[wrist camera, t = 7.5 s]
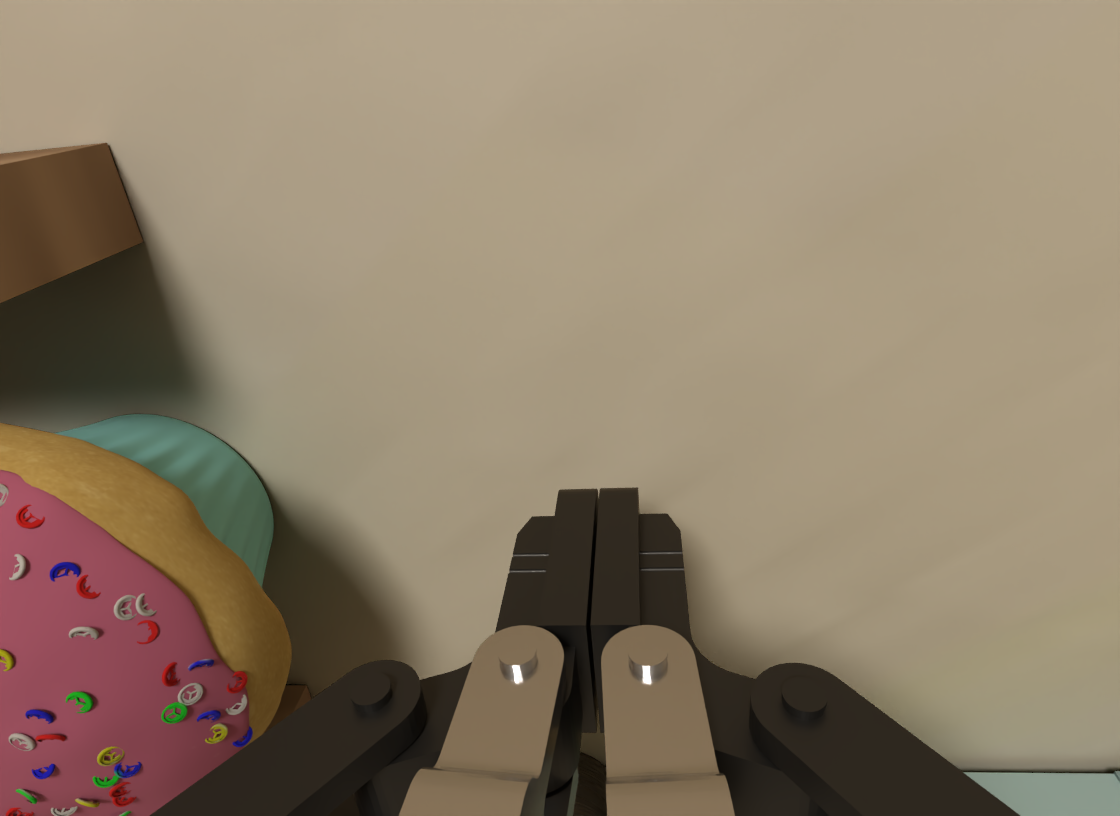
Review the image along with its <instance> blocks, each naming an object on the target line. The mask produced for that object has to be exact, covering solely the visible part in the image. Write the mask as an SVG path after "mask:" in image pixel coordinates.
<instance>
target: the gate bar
mask: <svg viewBox="0 0 1120 816" xmlns="http://www.w3.org/2000/svg"><path fill="white" fill-rule="evenodd" d="M963 773H965V774H966V775H967V776H969V777H970V778H971V779H973V780H974V781H975V782H977V783H978V784H979V785H981V786H982V787H983V788H985V789H986V790H987V791H989V792H990V793H991V794H993V795H994V796H995V797H996V798H998V799H999V800H1000V801H1002V802H1003V803H1004V804H1006V805H1007V806H1008V807H1010V808H1011V809H1012V810H1014V811H1015V812H1016V813H1018V814H1019V815H1020V816H1120V771H1115V772H1114V774H1094V773H986V772H963Z"/></svg>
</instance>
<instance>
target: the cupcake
mask: <svg viewBox="0 0 1120 816" xmlns="http://www.w3.org/2000/svg"><path fill="white" fill-rule="evenodd" d="M273 531H274V520H273V513H272V508H271V504H270V501H269V498H268V495H267V493H266V491H265V489H264V487H263V485H262V483H261V482H260V480H259V478H258V477H257V475H256V474H255V473H254V471H253V470H252V469H251V467H250V466H249V465H248V464H247V463H246V462H245V461H244V460H243V459H242V458H241V456H240V455H238V454H237V453H236V452H235V451H234V450H233V449H232V448H230V447H229V446H228V445H227V444H225V443H224V442H223V441H221V440H220V439H218V438H217V437H215V436H213V435H212V434H210V433H208V432H206V431H205V430H203V429H201V428H198V427H196V426H194V425H192V424H189V423H186V422H184V421H181V420H178V419H174V418H170V417H165V416H160V415H152V414H129V415H122V416H116V417H113V418H109V419H106V420H103V421H100V422H97V423H94V424H90V425H87V426H83V427H79V428H75V429H71V430H67V431H63V432H58V433H49V432H45V431H40V430H35V429H30V428H25V427H20V426H15V425H10V424H4V423H0V816H150V815H151V814H152V813H154V812H155V811H156V810H158V809H159V808H161V807H162V806H163V805H165V804H166V803H168V802H169V801H170V800H172V799H173V798H175V797H176V796H177V795H179V794H180V793H182V792H183V791H184V790H186V789H187V788H189V787H190V786H191V785H193V784H194V783H196V782H197V781H198V780H200V779H201V778H202V777H204V776H205V775H207V774H208V773H209V772H211V771H212V770H214V769H215V768H216V767H218V766H219V765H221V764H222V763H223V762H225V761H226V760H228V759H229V758H230V757H232V756H233V755H235V754H236V753H237V752H239V751H240V750H241V749H243V748H244V747H246V746H247V745H248V744H250V743H251V742H253V741H254V740H255V739H257V738H258V737H260V736H261V735H262V734H263V733H264V731H265V730H266V728H267V727H268V726H269V724H270V723H271V721H272V719H273V717H274V716H275V714H276V711H277V709H278V707H279V704H280V701H281V697H282V694H283V691H284V688H285V685H286V682H287V679H288V675H289V670H290V665H291V657H292V648H291V641H290V637H289V633H288V631H287V628H286V625H285V623H284V620H283V617H282V615H281V613H280V612H279V610H278V609H277V607H276V606H275V605H274V603H273V602H272V601H271V600H270V599H269V597H268V596H267V595H266V594H265V592H264V591H263V589H262V584H263V579H264V574H265V569H266V564H267V560H268V555H269V551H270V547H271V543H272V539H273Z"/></svg>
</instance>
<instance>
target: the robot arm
mask: <svg viewBox="0 0 1120 816" xmlns="http://www.w3.org/2000/svg"><path fill="white" fill-rule="evenodd" d="M509 570H510V573H509V574H508V578H507V582H506V587H505V591H504V596H503V600H502V605H501V609H500V613H499V618H498V622H497V627H496V631H495V633H494V634H493V635H491V636H490V637H488V638H487V639H486V640H485V641H484V642H483V643H482V644H481V645H480V646H479V648H478V649H477V651H476V653H475V655H474V658H473V661H472V662H471V663H469V664H468V665H466V666H464V667H462V668H460V669H457V670H454V671H451V672H448V673H444V674H441V675H437V676H433V677H429V678H426V679H422V680H419V677H418V675H417V673H416V672H415V671H414V670H413V669H412V668H411V667H410V666H408V665H407V664H404V663H402V662H399V661H394V660H381V661H375V662H370V663H367V664H364V665H362V666H360V667H358V668H355V669H354V670H352V671H351V672H349V673H347V674H346V675H345V676H343V677H342V678H340V679H339V680H338V681H336V682H335V683H333V684H332V685H331V686H329V687H328V688H326V689H325V690H324V691H322V692H321V693H319V694H318V695H317V696H315V697H314V698H313V699H311V700H310V701H308V702H307V703H306V704H304V705H303V706H301V707H300V708H299V709H297V710H296V711H294V712H293V713H292V714H290V715H289V716H287V717H286V718H285V719H283V720H282V721H280V722H279V723H278V724H276V725H275V726H274V727H272V728H271V729H269V730H268V731H267V732H265V733H264V734H262V735H261V736H260V737H258V738H257V739H255V740H254V741H253V742H251V743H250V744H248V745H247V746H246V747H244V748H243V749H241V750H240V751H239V752H237V753H236V754H235V755H233V756H232V757H230V758H229V759H228V760H226V761H225V762H223V763H222V764H221V765H219V766H218V767H216V768H215V769H214V770H212V771H211V772H209V773H208V774H207V775H205V776H204V777H202V778H201V779H200V780H198V781H197V782H196V783H194V784H193V785H191V786H190V787H189V788H187V789H186V790H184V791H183V792H182V793H180V794H179V795H177V796H176V797H175V798H173V799H172V800H170V801H169V802H168V803H166V804H165V805H163V806H162V807H161V808H159V809H158V810H156V811H155V812H154V813H152V814H151V815H150V816H573V812H574V805H575V799H576V792H577V785H578V767H577V766H578V763H579V758H580V746H581V733H596V732H597V712H598V710H599V721H600V731H601V733H605V751H606V772H607V779H606V801H607V816H1020V815H1019V814H1018V813H1016V812H1015V811H1014V810H1012V809H1011V808H1010V807H1008V806H1007V805H1006V804H1004V803H1003V802H1002V801H1000V800H999V799H998V798H996V797H995V796H994V795H993V794H991V793H990V792H989V791H987V790H986V789H985V788H983V787H982V786H981V785H979V784H978V783H977V782H975V781H974V780H973V779H971V778H970V777H969V776H967V775H966V774H965V773H963V772H962V771H961V770H959V769H958V768H957V767H955V766H954V765H953V764H951V763H950V762H949V761H947V760H946V759H945V758H943V757H942V756H941V755H939V754H938V753H937V752H935V751H934V750H933V749H931V748H930V747H929V746H927V745H926V744H925V743H923V742H922V741H921V740H919V739H918V738H917V737H915V736H914V735H913V734H911V733H910V732H909V731H907V730H906V729H905V728H903V727H902V726H901V725H899V724H898V723H897V722H895V721H894V720H893V719H891V718H890V717H889V716H887V715H886V714H885V713H883V712H882V711H881V710H879V709H878V708H877V707H875V706H874V705H873V704H871V703H870V702H869V701H867V700H866V699H865V698H864V697H862V696H861V695H860V694H858V693H857V692H856V691H854V690H853V689H852V688H850V687H849V686H848V685H846V684H845V683H844V682H842V681H841V680H840V679H838V678H837V677H835V676H834V675H832V674H831V673H829V672H827V671H825V670H823V669H821V668H818V667H815V666H812V665H807V664H801V663H785V664H779V665H776V666H773V667H770V668H769V669H767V670H765V671H764V672H762V673H761V674H760V675H759V676H758V677H757V679H753V678H749V677H746V676H742V675H739V674H735V673H732V672H729V671H726V670H724V669H722V668H720V667H718V666H716V665H714V664H713V663H711V662H710V661H709V660H707V659H706V658H705V657H704V656H703V655H702V654H701V653H700V652H699V651H698V649H697V648H696V646H695V645H694V642H693V640H692V638H691V633H690V624H689V614H688V604H687V594H686V584H685V574H684V563H683V555H682V543H681V533H680V530H679V528H678V527H677V526H676V525H675V523H674V522H673V521H672V519H671V518H670V517H669V515H668V514H639V496H638V488H601V489H600V493H599V497H598V490H597V489H568V490H559V492H558V498H557V504H556V510H555V516H537V517H531V519H530V520H529V521H528V522H527V523H526V524H525V526H524V527H523V528H522V529H521V530H520V532H519V533H518V534H517V538H516V543H515V547H514V551H513V557H512V560H511V565H510V569H509Z"/></svg>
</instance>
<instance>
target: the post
mask: <svg viewBox="0 0 1120 816" xmlns="http://www.w3.org/2000/svg"><path fill="white" fill-rule="evenodd" d="M577 767H578V785H577V792H576V799H575V805H574V812H573V816H607V801H606V779H607V772H606V767H604V766H603V765H602V764H601V763H600V762H598V761H597V760H595V759H593V758H592V757H590V756H587V755H585V754H582V753H580V758H579V763H578V766H577Z"/></svg>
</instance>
